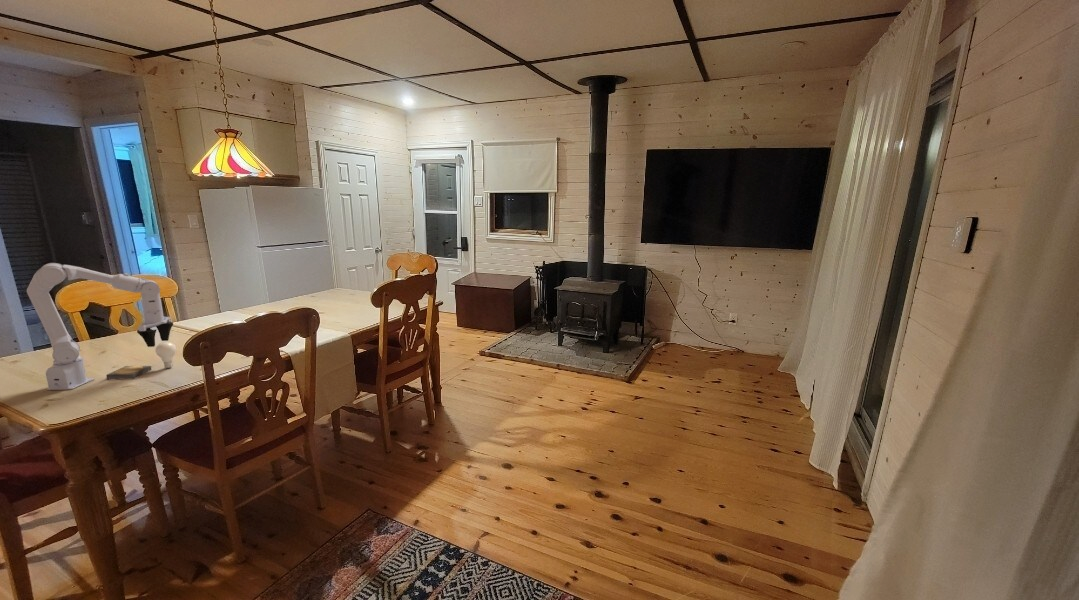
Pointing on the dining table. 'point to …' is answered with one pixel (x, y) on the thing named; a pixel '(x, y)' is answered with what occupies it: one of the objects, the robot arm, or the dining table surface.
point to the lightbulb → (166, 353)
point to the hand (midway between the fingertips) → (158, 343)
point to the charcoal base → (128, 372)
